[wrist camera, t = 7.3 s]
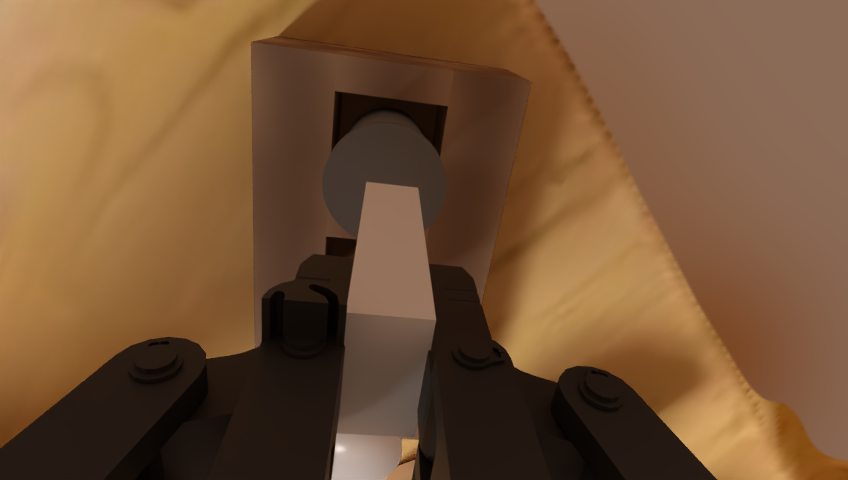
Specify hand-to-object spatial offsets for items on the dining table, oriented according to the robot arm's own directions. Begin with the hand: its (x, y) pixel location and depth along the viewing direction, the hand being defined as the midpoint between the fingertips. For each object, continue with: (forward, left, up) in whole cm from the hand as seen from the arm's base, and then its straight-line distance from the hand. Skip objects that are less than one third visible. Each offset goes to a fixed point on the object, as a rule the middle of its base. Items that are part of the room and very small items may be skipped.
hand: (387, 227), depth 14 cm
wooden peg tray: (0, -7, -14) cm, 15 cm away
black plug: (0, 0, -10) cm, 10 cm away
